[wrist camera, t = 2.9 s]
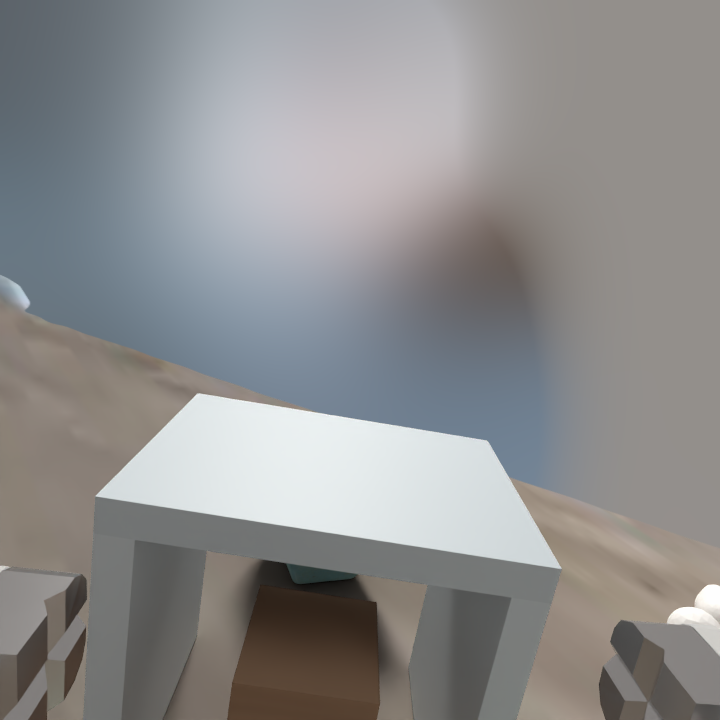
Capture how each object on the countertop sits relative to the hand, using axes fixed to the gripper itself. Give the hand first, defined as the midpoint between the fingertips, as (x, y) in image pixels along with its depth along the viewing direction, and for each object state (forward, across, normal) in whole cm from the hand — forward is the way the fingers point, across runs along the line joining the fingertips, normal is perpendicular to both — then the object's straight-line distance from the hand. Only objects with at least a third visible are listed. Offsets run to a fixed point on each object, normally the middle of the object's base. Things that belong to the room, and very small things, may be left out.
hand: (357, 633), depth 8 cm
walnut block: (+11, 0, +21) cm, 24 cm away
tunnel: (+17, 0, +21) cm, 27 cm away
